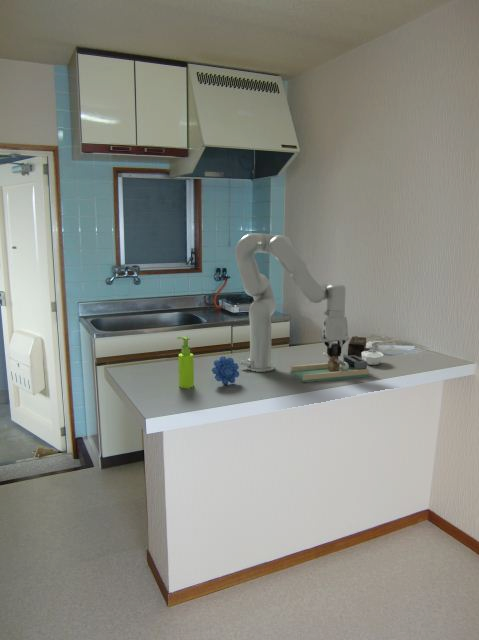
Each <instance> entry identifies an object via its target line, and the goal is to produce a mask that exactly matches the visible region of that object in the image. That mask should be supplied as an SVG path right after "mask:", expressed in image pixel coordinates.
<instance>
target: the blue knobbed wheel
mask: <svg viewBox="0 0 479 640" xmlns="http://www.w3.org/2000/svg"><path fill="white" fill-rule="evenodd" d="M213 365H214V366H213V367H212V369H211V372H212V374H214V379H215V381H217V382H221V383H222V384H223V385H225V386H226V384H227V385H228V384H229V383H231V384H235V383H236V379H237V378H239V377H240V372H239V371H238V370H239V368H240V365H239V363H236V362H235V360H234V358H232V357H228V358H227V357H226V356H223V355H222V356H220V357H219V360H218V359H216V360H214V361H213Z"/></svg>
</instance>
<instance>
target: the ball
mask: <svg viewBox="0 0 479 640" xmlns="http://www.w3.org/2000/svg"><path fill="white" fill-rule="evenodd" d="M344 363H345V364H346V365H345V366H342V365H341V364H340V369H341V370H342V371H347V370H348V369H349V365H348V363H347V362H344Z"/></svg>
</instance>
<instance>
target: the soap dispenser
mask: <svg viewBox="0 0 479 640" xmlns="http://www.w3.org/2000/svg"><path fill="white" fill-rule="evenodd" d="M176 339H177V340H183V344H182V345H181V353H178V387H179V388H180V387H181V389H191V387H192V388H193V386H195V381H194V380H195V379H194V378H195V376H194V372H195V370H194V369H195V368H194V354H193V353H191V345H190V344H189V341H190V339H191V338H190V337H187V336H178V337H176Z"/></svg>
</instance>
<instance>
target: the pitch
mask: <svg viewBox="0 0 479 640" xmlns="http://www.w3.org/2000/svg"><path fill="white" fill-rule="evenodd" d="M289 370H290V374H291V375H292V374H293V375H294V376H293V375H292V376H293V377H295V378H296V377H297V378H296V379H298V380H299V381H300V380H301V381H300V382H301V383H303V384H305V383H304V382H307V383H315V382H314V381H318V382H325V381H327V382H329V381H336V380H337V381H338V380H348V379H357V378H358V379H359V378H368V377H369V368H367V369H359V370H354V367H349V369H348V370H347V371H342V370H341V369H340V368H339V371H338V372H331V371H329V370H328V362H324V363H323V362H322V363H312V364H311V363H310V364H301V365H290V369H289Z"/></svg>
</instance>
